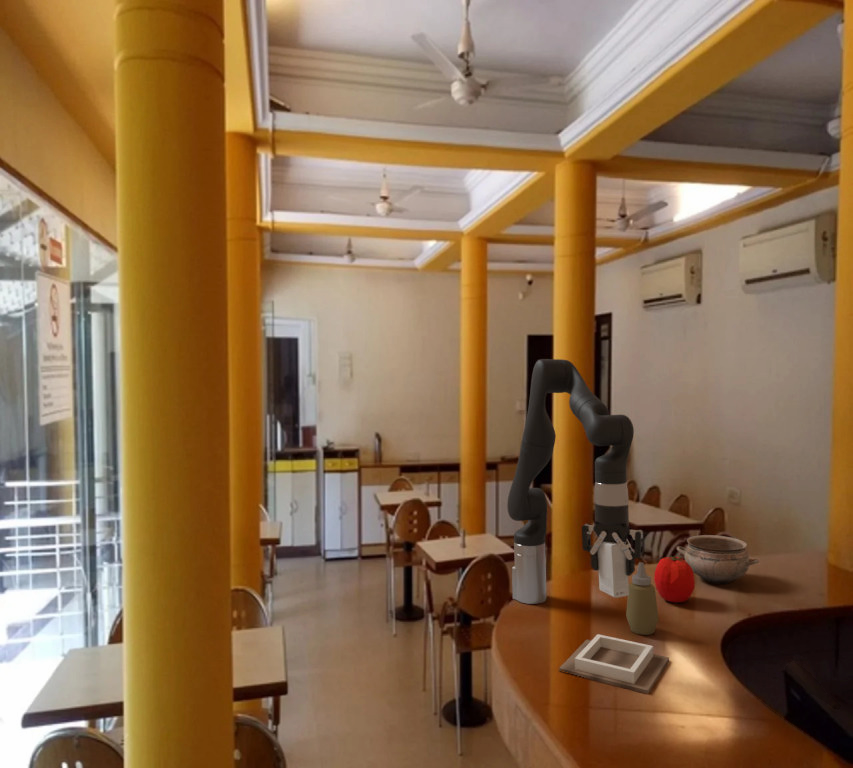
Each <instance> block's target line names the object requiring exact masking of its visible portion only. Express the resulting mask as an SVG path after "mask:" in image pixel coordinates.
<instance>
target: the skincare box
mask: <svg viewBox="0 0 853 768" xmlns="http://www.w3.org/2000/svg"><path fill="white" fill-rule="evenodd" d="M624 544H625V545H626V543H624ZM597 553H598V570H597V571H598V584H599V586H598V587H599V591H601V592H603V593H605V594H607V595H609V596H610V597H612V598H614V599H615V598H616V599H617V598H624V597H628V595H629V585H630V584H629V576H627V574H626V559H627V557H626V555H625V553H624V552H623V551H622V550H621V549H620V546H619V544H617V543H613V542H602V543H601V545H600V547H599V549H598V550H597Z"/></svg>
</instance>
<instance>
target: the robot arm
mask: <svg viewBox="0 0 853 768" xmlns="http://www.w3.org/2000/svg"><path fill="white" fill-rule="evenodd" d="M529 393H530V394H529V402H528V408H527V409H528V410H527V414H526V419H525V425H524V429H523V433H522V437H521V442H520V449H519V455H518V460H517V465H516V470H515V473H514V476H513V480H512V483H511V486H510V489H509V493H508V497H507V508H506V509H507V513H508V515H509V518H511V520H513V521H517V522H519V521H520V522H521V521H522V522H524V521H527V523H525V524H524V525H523V526H522V527H521V528H519V529H517V530H515V531H514V534H513V542H514V543H513V548H514V549H513V550H514V551H513V553H514V566H512V568H511V575H512V576H511V579H512V580H511V582H512V586H511V587H512V599H513V600H516V601H518V602H520V603H522V604H528V605H530V604H531V605H534V604H535V605H536V604H537V605H538V604H541V603H545V601H546V600H547V573H546V572H547V569H546V567H547V566H546V563H547V562H546V535H547V527H548V526H547V525H548V522H547V521H548V501H547V496H546V493H545V492H544V491H543V490H542V488H539V487H531V485H532V484H533V481H534V480H535V479H536V478H537V477H538V475H539V474H540V473H541V472H542V470H543V469H544V468H545V467H546V466H547V465H548V463H549V462H550V460H551V459H552V456H553V452H554V449H555V444H556V437H557V436H556V431H555V428H554V425H553V423H552V420H551V419H550V417H549V414H548V412H547V409H546V397H547V395H548V393H549V394H563V393H567V394H568V395H570V396H569V401H568V404H569V409H570V410H571V412H572V414H573V415H574V416H575V417H576V418H577V419H578V421H580V423H581V424H582V427H583V430H584V433H585V435H586V438H587V440H588V442H589V443H591V444H592V445H594V446H596V447H608V446H610V447H611V449H610V451H609V452H608V453H606V454H603V455H601V456H598V457H597V458H596V459H595V460H594V481H595V482H594V492H593V493H594V495H593V497H594V525H592V524H589V523H585V524H584V525H582V526H581V540H582V541H581V542H582V550H583V551H584V552H588V553H589V554H590V565H591V568H593V571H599V570H598V553H597V550H598V549H599V547H600V545H601V543H602V542H613V543H617V544H619V546H620V549H621V550H622V551H623V552H624V553H625V555H626V557H627V559H626V574H627V576H628V577H630V576H631V577H632V576H633V575H632V574H634V573H635V571H636V568H635V567H636V566H635V565H636V563H635V561H636V560H635V559H640V558H641V557H643V555H644V530H642V529H637V530H636V529H631V527H630V524H629V523H630V522H629V521H630V520H629V519H630V515H629V512H630V511H629V501H630V500H629V499H630V498H629V489H628V482H627V481H628V480H627V478H628V477H627V476H628V475H627V463H628V461H629V459H628V458H629V455H630V451H631V448H632V447H631V446H632V445H633V444H632V442H633V439H634V434H635V430H634V424H633V422H632V421H631V419H630V418H629V416H627V415H625V414H610V412H609V409H608V407H607V406H606V404H605V403H604V402H603V401H601V399H600V398H599V397H597V396H596V395H595V394H594V393H593V392H592V391H591V389H590V388H589V386H588V384H587V383H586V381H585V380H584V377H582V375H581V373H580V372H579V370H578V368H577V367H576V366H575V365H574V364H573V363H572V362H571V361H569V360H567V359H563V358H562V359H561V358H560V359H557V358H556V359H554V358H550V359H549V358H542V359H538V360H537V361H536V362H535V364H534V366H533V369H532V375H531V382H530V392H529ZM593 532H594V533H595V535H596V536H597V537H598V538H597V539H596V540H595V542H594V544H593V545H592V539H591V538H592V536H591V535H592V534H593ZM629 536H631V537H632V540H634V549H633V548H632V545H631V543H630V541H629V539H628V538H629ZM624 543H626V545H625V544H624Z"/></svg>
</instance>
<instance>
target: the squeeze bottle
mask: <svg viewBox="0 0 853 768" xmlns="http://www.w3.org/2000/svg"><path fill="white" fill-rule="evenodd" d="M631 579H632V580H631V583H630V584H628V585H629V595H628V596H627V600H626V601H627V602H626V612H625V613H626V614H625V616H626V619H627V622H628V625H629V629H630V631H631V632H632V633H634V634H637V635H645V636H647V635H652V634H654V633H655V631H656V628H657V625H658V621H659V620H660V619H659V618H660V617H659V611H658V603H657V594H656V586H654V585H653V584H652V577H651V576H650V575H647V571H646V568H645V564H644V562H641V561H640V562H638V565H637V570H636V573H635V574H633V575H631Z"/></svg>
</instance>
